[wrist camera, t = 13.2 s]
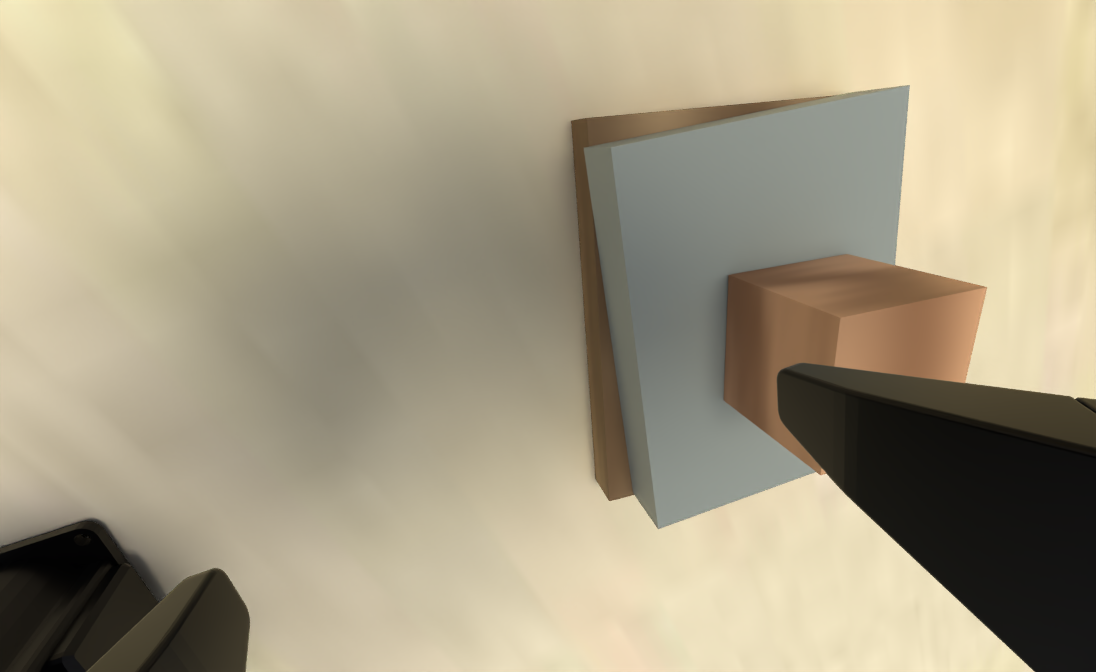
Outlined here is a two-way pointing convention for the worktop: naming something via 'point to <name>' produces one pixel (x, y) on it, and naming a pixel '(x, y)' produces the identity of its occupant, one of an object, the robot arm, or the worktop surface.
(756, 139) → the slate grey slab
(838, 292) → the terracotta block
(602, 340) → the walnut slab
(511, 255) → the worktop surface
